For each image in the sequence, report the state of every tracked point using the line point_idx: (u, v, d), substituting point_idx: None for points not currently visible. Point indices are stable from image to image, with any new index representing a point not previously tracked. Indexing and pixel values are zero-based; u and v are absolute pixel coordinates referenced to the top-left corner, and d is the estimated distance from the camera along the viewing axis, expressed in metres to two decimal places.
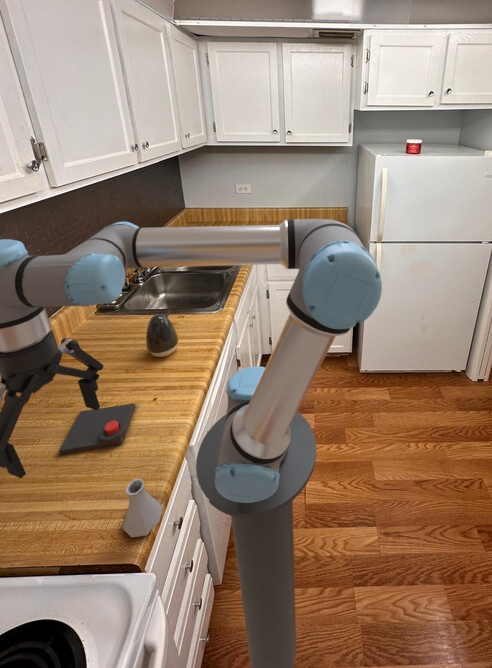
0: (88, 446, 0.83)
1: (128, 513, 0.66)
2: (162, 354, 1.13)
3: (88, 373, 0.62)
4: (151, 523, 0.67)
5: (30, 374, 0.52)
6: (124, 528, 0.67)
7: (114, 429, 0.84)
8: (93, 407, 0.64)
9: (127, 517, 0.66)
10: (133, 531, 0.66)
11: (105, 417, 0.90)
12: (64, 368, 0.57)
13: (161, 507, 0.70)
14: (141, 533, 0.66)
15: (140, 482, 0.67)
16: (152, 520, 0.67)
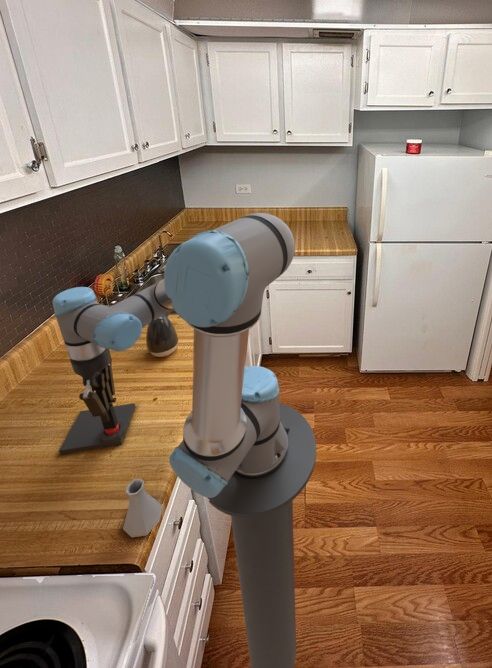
0: (88, 446, 0.83)
1: (128, 513, 0.66)
2: (162, 354, 1.13)
3: (111, 394, 0.83)
4: (151, 523, 0.67)
5: (97, 375, 0.77)
6: (124, 528, 0.67)
7: (114, 430, 0.84)
8: None
9: (127, 517, 0.66)
10: (133, 531, 0.66)
11: None
12: (108, 375, 0.81)
13: (161, 507, 0.70)
14: (141, 533, 0.66)
15: (140, 482, 0.67)
16: (152, 520, 0.67)
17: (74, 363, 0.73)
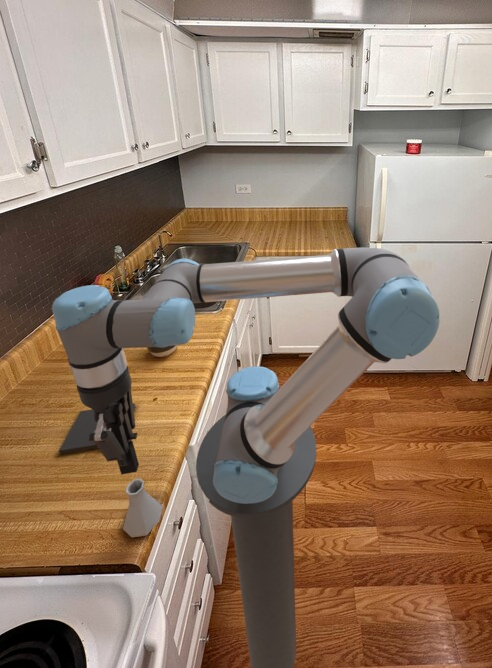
0: (88, 446, 0.83)
1: (128, 513, 0.66)
2: (162, 354, 1.13)
3: (130, 428, 0.63)
4: (151, 523, 0.67)
5: (113, 406, 0.57)
6: (124, 528, 0.67)
7: None
8: None
9: (127, 517, 0.66)
10: (133, 531, 0.66)
11: None
12: (127, 404, 0.61)
13: (161, 507, 0.70)
14: (141, 533, 0.66)
15: (140, 482, 0.67)
16: (152, 520, 0.67)
17: (82, 391, 0.53)
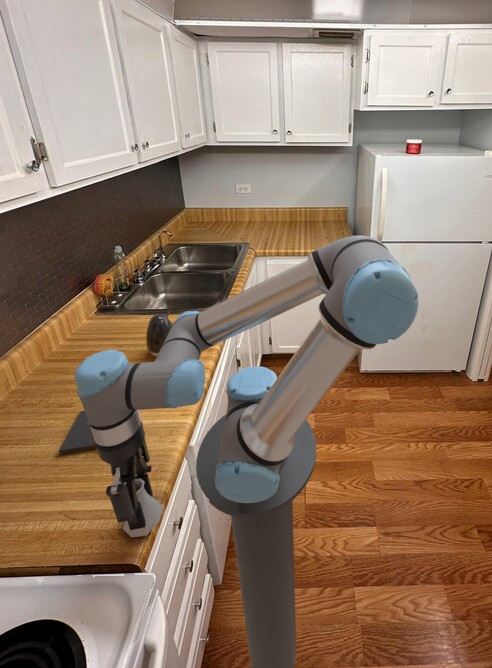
0: (88, 446, 0.83)
1: None
2: None
3: (145, 464, 0.69)
4: (151, 523, 0.67)
5: (129, 458, 0.61)
6: (124, 528, 0.67)
7: None
8: None
9: None
10: (133, 531, 0.66)
11: None
12: (141, 450, 0.66)
13: (161, 507, 0.70)
14: (141, 533, 0.66)
15: (140, 482, 0.67)
16: (152, 520, 0.67)
17: (101, 449, 0.57)
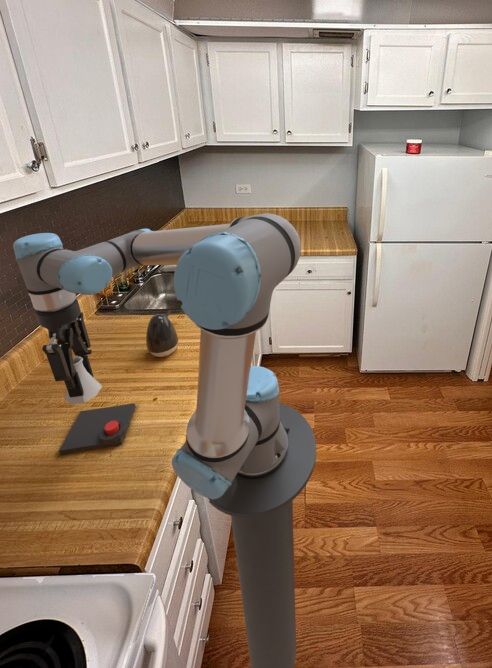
0: (88, 446, 0.83)
1: None
2: (162, 354, 1.13)
3: (85, 347, 0.81)
4: (89, 394, 0.79)
5: (65, 329, 0.73)
6: (65, 398, 0.79)
7: (114, 429, 0.84)
8: None
9: None
10: (72, 399, 0.78)
11: (105, 417, 0.90)
12: (79, 330, 0.77)
13: (100, 386, 0.82)
14: (79, 401, 0.78)
15: (79, 359, 0.79)
16: (90, 392, 0.79)
17: (39, 314, 0.69)
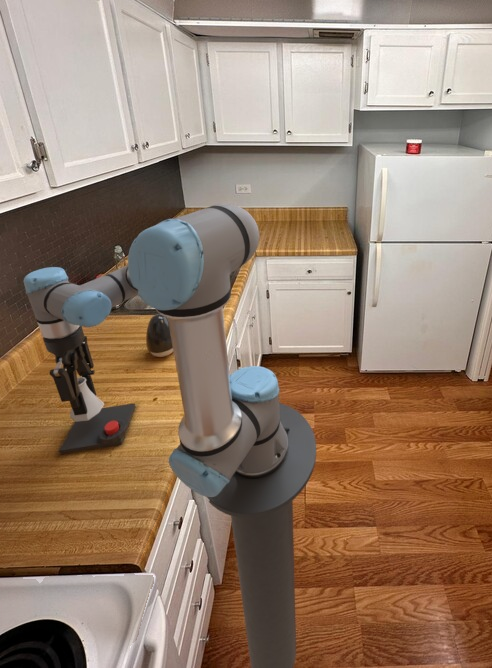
0: (88, 446, 0.83)
1: None
2: (162, 354, 1.13)
3: (89, 368, 0.87)
4: (92, 412, 0.86)
5: (71, 353, 0.79)
6: (70, 415, 0.85)
7: (114, 429, 0.84)
8: None
9: None
10: (77, 416, 0.84)
11: (105, 417, 0.90)
12: (83, 353, 0.84)
13: (102, 403, 0.89)
14: (83, 418, 0.84)
15: (83, 379, 0.85)
16: (93, 410, 0.86)
17: (46, 341, 0.75)
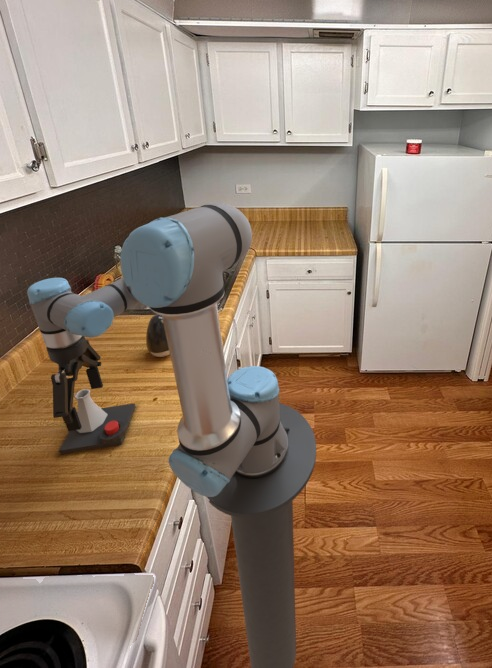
0: (88, 446, 0.83)
1: None
2: (162, 354, 1.13)
3: (95, 362, 0.91)
4: (95, 423, 0.87)
5: (74, 361, 0.80)
6: None
7: (114, 429, 0.84)
8: (99, 386, 0.93)
9: None
10: (81, 428, 0.86)
11: None
12: (87, 357, 0.86)
13: (105, 414, 0.90)
14: (87, 430, 0.86)
15: (87, 391, 0.87)
16: (96, 421, 0.87)
17: (50, 351, 0.76)
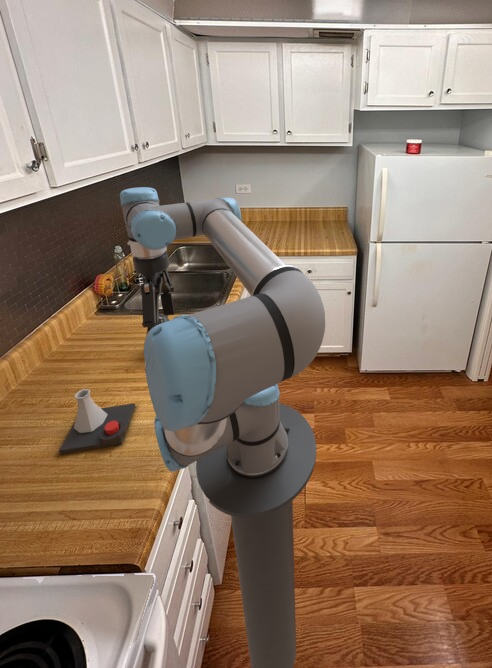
0: (88, 446, 0.83)
1: (77, 415, 0.86)
2: None
3: (169, 286, 0.90)
4: (95, 423, 0.87)
5: (158, 277, 0.80)
6: (74, 427, 0.87)
7: (114, 429, 0.84)
8: (171, 313, 0.92)
9: (77, 418, 0.86)
10: (81, 428, 0.86)
11: None
12: (165, 277, 0.85)
13: (105, 414, 0.90)
14: (87, 430, 0.86)
15: (87, 391, 0.87)
16: (96, 421, 0.87)
17: (137, 261, 0.75)
